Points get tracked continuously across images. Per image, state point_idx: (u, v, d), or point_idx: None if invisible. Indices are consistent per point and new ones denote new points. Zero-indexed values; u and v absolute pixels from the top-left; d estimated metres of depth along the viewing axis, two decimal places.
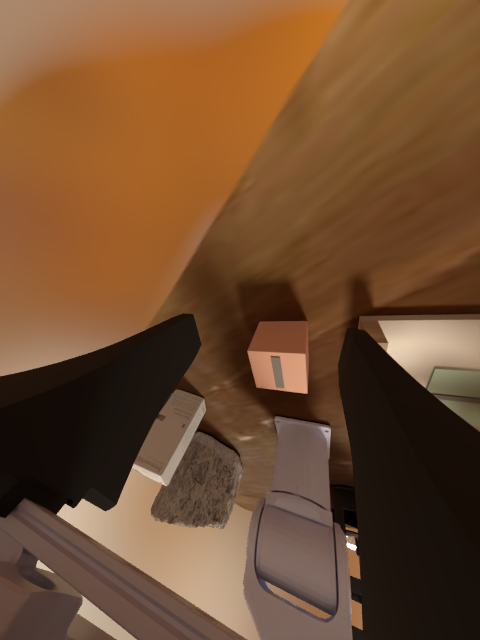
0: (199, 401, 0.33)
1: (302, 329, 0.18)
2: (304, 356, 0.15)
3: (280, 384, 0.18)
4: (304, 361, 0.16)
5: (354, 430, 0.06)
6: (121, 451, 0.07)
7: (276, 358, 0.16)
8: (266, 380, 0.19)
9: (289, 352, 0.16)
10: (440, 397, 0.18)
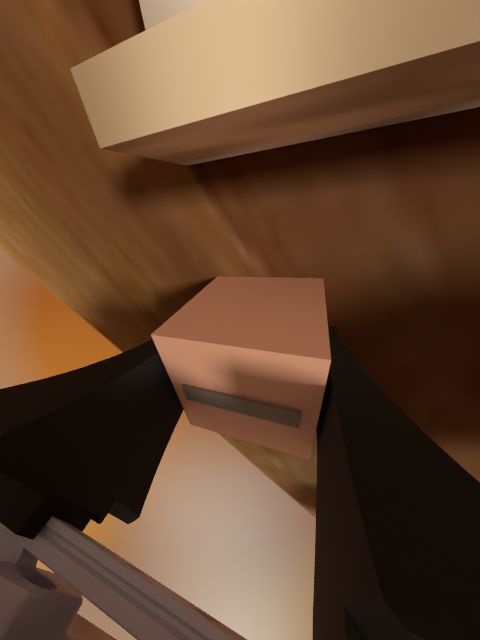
0: None
1: None
2: (160, 337, 0.06)
3: (284, 413, 0.06)
4: (174, 340, 0.06)
5: (319, 422, 0.06)
6: (144, 461, 0.06)
7: (188, 389, 0.07)
8: (275, 433, 0.07)
9: (163, 362, 0.06)
10: None
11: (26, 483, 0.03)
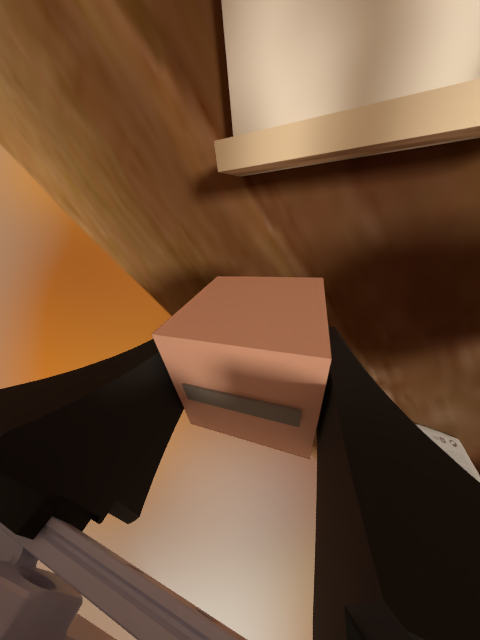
0: None
1: None
2: (161, 336, 0.06)
3: (284, 412, 0.06)
4: (175, 339, 0.06)
5: (319, 422, 0.06)
6: (144, 461, 0.06)
7: (188, 388, 0.07)
8: (276, 432, 0.07)
9: (164, 361, 0.06)
10: None
11: (26, 483, 0.03)
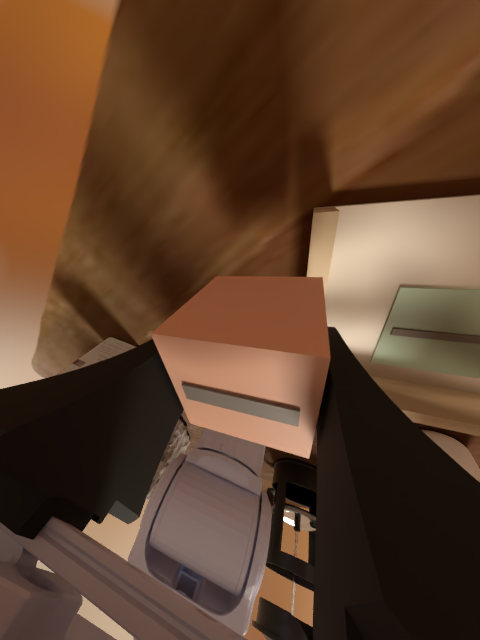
0: None
1: None
2: (160, 336, 0.06)
3: (284, 412, 0.06)
4: (174, 339, 0.06)
5: (319, 422, 0.06)
6: (144, 461, 0.06)
7: (188, 388, 0.07)
8: (275, 432, 0.07)
9: (163, 361, 0.06)
10: (401, 332, 0.14)
11: (26, 483, 0.03)
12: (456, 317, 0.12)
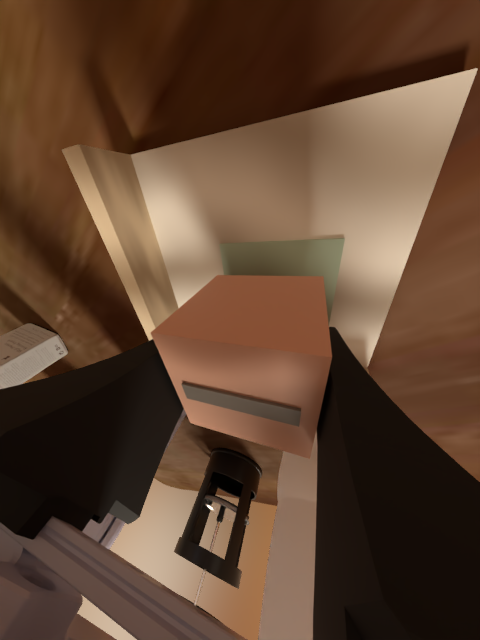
0: (48, 336, 0.27)
1: None
2: (160, 335, 0.06)
3: (284, 411, 0.06)
4: (174, 338, 0.05)
5: (319, 422, 0.06)
6: (144, 461, 0.06)
7: (188, 388, 0.07)
8: (276, 431, 0.07)
9: (163, 361, 0.06)
10: None
11: (26, 483, 0.03)
12: (278, 274, 0.12)
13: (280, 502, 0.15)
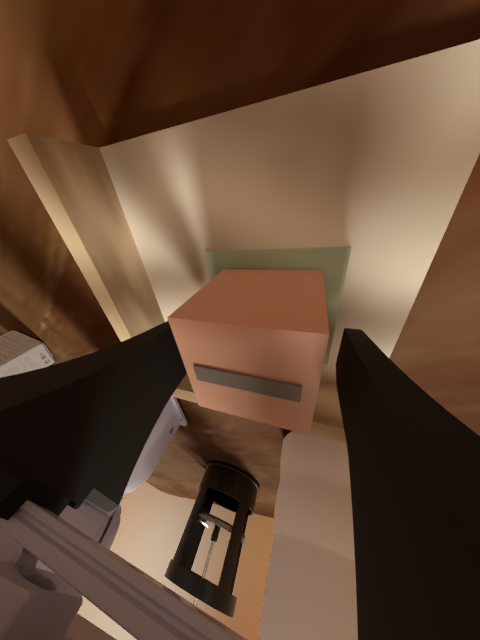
0: (32, 344, 0.26)
1: None
2: (176, 319, 0.06)
3: (287, 389, 0.06)
4: (189, 322, 0.06)
5: (350, 429, 0.06)
6: (123, 452, 0.06)
7: (199, 369, 0.07)
8: (279, 409, 0.07)
9: (177, 344, 0.07)
10: None
11: None
12: None
13: (276, 539, 0.13)
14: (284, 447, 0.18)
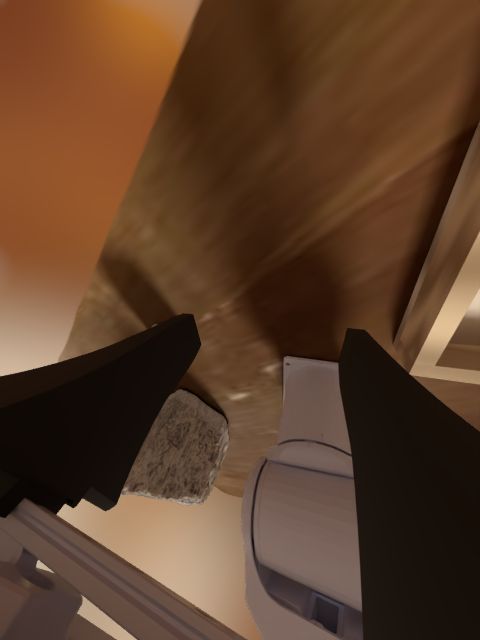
0: None
1: None
2: None
3: None
4: None
5: (354, 430, 0.06)
6: (121, 451, 0.07)
7: None
8: None
9: None
10: None
11: None
12: None
13: None
14: None
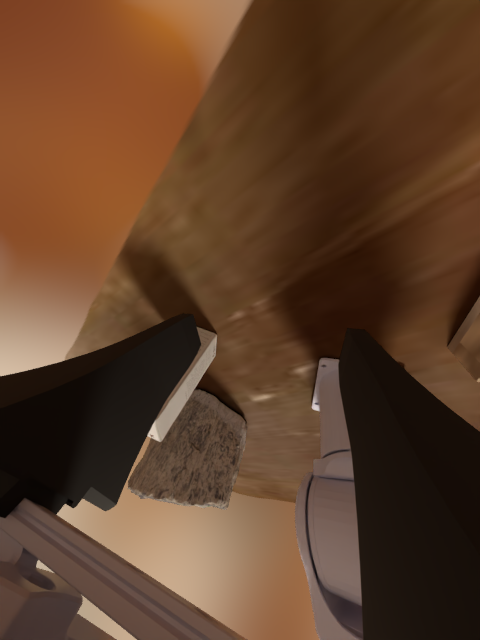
0: (210, 336, 0.24)
1: None
2: None
3: None
4: None
5: (354, 430, 0.06)
6: (121, 451, 0.07)
7: None
8: None
9: None
10: None
11: None
12: None
13: None
14: None
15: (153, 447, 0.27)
